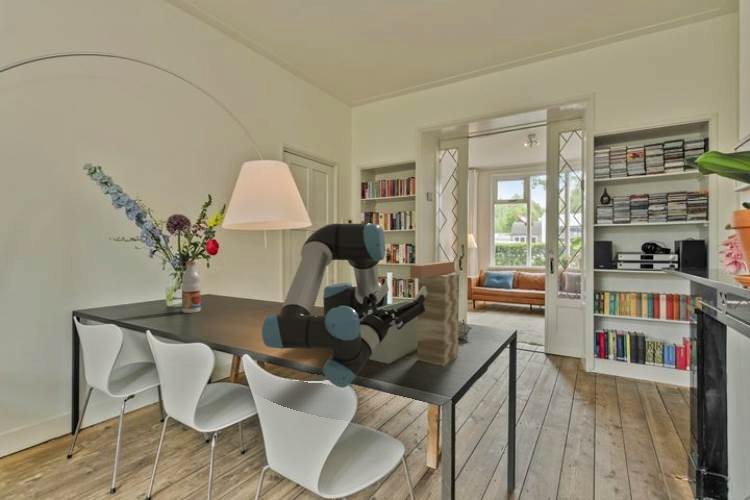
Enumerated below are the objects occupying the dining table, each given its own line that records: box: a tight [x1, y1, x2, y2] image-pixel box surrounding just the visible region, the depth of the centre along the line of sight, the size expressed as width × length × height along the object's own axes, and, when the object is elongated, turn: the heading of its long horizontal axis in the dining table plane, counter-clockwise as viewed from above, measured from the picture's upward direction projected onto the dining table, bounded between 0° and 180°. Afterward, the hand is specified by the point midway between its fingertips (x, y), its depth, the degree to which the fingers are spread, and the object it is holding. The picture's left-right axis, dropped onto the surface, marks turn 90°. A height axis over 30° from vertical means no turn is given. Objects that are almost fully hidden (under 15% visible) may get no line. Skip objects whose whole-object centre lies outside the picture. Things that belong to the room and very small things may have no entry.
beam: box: [409, 260, 456, 279], centre depth 125 cm, size 26×4×4 cm, turn 145°
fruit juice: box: [181, 261, 202, 314], centre depth 205 cm, size 9×9×28 cm
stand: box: [416, 272, 460, 367], centre depth 128 cm, size 12×10×30 cm
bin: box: [368, 300, 418, 365], centre depth 138 cm, size 31×12×16 cm, turn 145°
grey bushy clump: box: [458, 318, 473, 340], centre depth 154 cm, size 9×8×10 cm
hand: (405, 287), depth 110 cm, fingers open, 13 cm apart
